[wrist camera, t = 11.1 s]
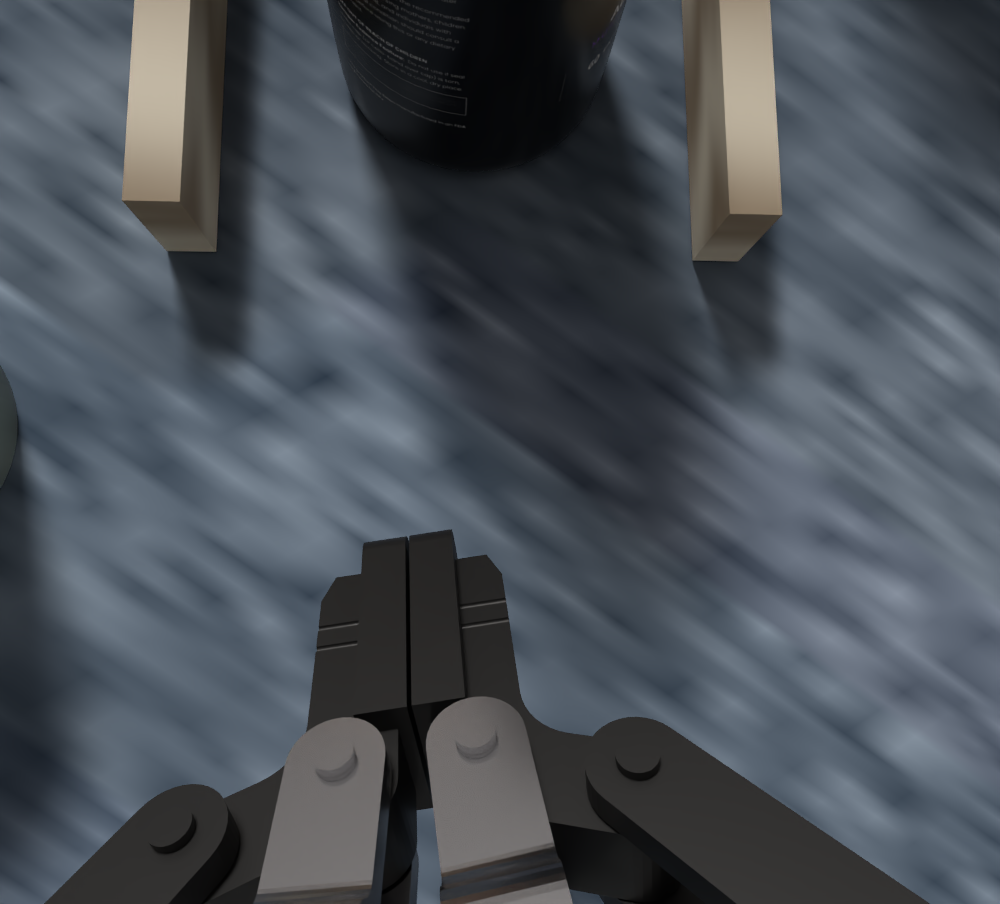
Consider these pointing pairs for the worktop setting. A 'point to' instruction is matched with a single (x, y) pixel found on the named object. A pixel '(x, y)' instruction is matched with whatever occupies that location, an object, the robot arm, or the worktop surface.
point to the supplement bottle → (474, 73)
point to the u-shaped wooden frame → (199, 106)
